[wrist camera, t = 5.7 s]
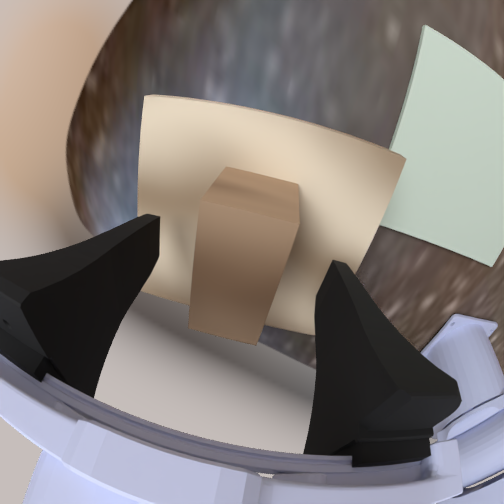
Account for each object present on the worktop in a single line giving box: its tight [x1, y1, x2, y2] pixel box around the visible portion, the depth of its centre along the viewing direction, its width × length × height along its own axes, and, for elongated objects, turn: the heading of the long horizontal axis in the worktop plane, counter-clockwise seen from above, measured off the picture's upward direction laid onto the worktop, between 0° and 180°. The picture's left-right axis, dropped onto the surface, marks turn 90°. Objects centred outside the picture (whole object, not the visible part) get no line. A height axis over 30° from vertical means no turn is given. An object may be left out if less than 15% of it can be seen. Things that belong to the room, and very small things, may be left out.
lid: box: [138, 95, 406, 345], centre depth 12 cm, size 11×11×4 cm
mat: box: [379, 25, 504, 267], centre depth 13 cm, size 13×13×1 cm
